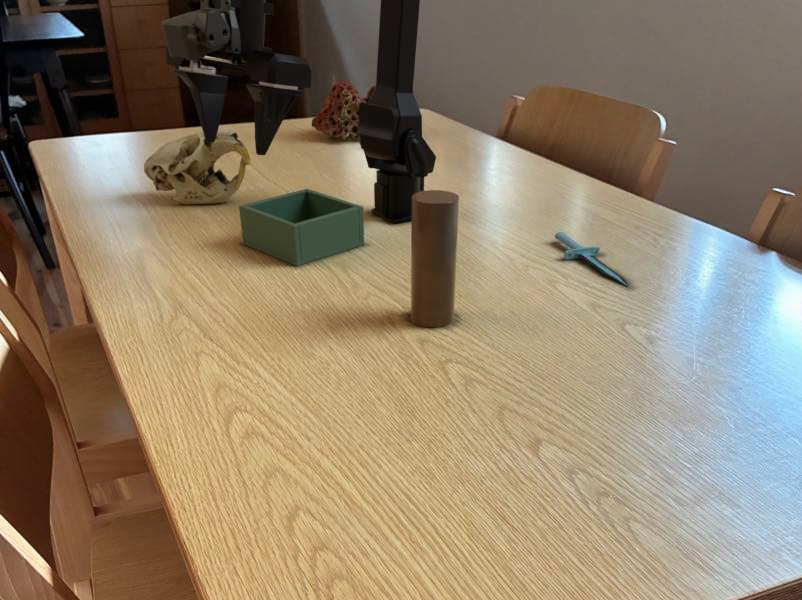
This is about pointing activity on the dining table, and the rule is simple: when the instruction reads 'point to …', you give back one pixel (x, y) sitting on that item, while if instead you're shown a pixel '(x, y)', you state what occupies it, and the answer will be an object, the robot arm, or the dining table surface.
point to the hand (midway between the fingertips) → (234, 148)
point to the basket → (302, 226)
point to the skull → (196, 168)
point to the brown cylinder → (433, 257)
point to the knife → (588, 257)
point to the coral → (341, 112)
